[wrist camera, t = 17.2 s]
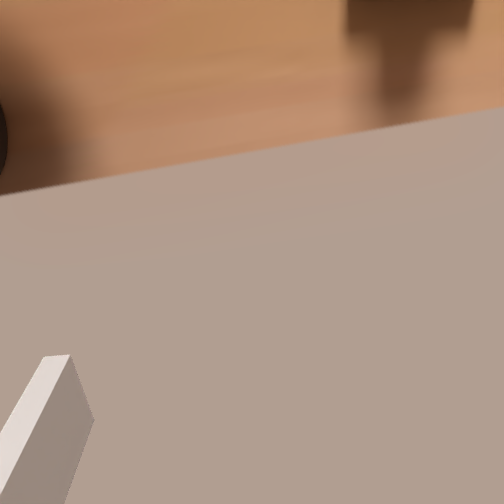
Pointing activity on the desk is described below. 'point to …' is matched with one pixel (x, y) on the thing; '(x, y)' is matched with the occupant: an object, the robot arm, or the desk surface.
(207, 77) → the desk surface
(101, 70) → the desk surface
